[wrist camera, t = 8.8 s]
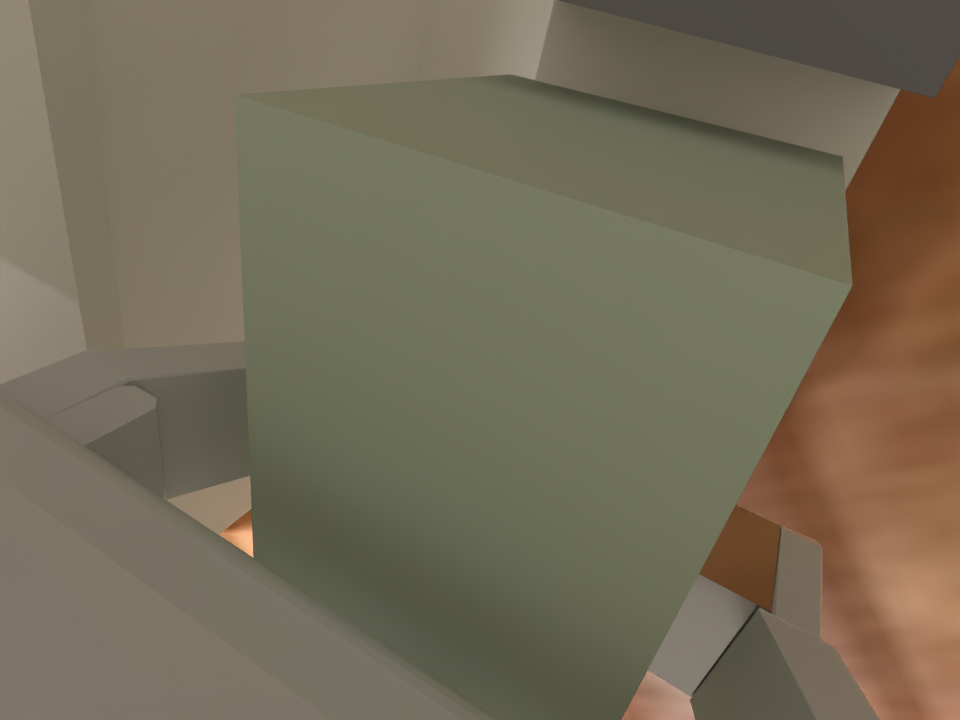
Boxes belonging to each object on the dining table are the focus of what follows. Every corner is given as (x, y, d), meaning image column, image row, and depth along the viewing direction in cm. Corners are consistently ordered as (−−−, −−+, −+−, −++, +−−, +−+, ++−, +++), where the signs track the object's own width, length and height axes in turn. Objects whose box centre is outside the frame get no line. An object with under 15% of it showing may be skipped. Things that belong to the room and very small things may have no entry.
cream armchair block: (642, 535, 18) (502, 899, 10) (178, 295, 23) (-140, 415, 16) (942, -43, 10) (1280, -318, 3) (145, -201, 16) (-511, -439, 8)
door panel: (510, 74, 9) (166, 99, 4) (842, 156, 7) (855, 324, 3) (431, 522, 13) (229, 758, 9) (623, 625, 12) (498, 967, 7)
